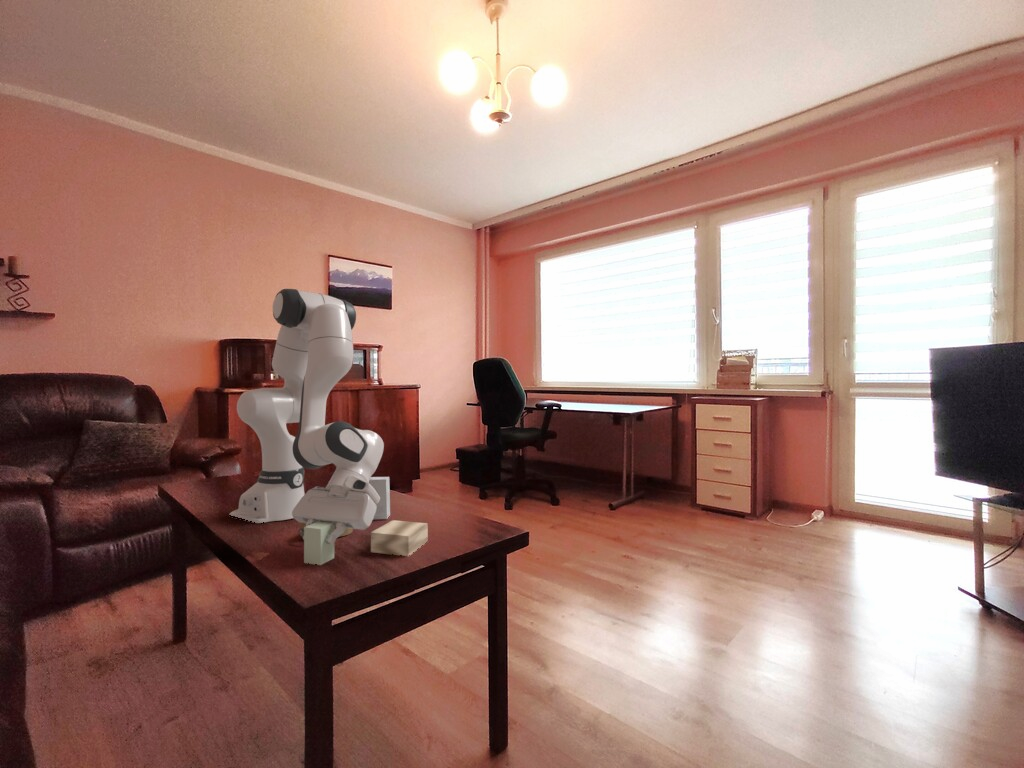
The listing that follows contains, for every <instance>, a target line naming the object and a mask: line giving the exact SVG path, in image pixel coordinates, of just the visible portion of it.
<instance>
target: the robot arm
mask: <svg viewBox="0 0 1024 768" xmlns="http://www.w3.org/2000/svg"><path fill="white" fill-rule="evenodd" d="M272 315H273V318H274V320H275V321H276V322H277V324H279V325H280V328H279V330H278V334H277V338H276V342H275V346H274V351H273V355H272V356H273V357H272V361H271V368H272V370H273V371H274V373H275V374H277V375H278V376H279V377H280V378H282V379H284V384H283V387H262V388H261V387H260V388H256V389H250V390H246V391H244V392H243V393H241V395H240V396H239V397H238V399H237V402H236V412H237V415H238V417H239V419H240V420H241V421H242V422H243V423H245V424H247V425H248V426H249V427H250V428H251V429H252V430H253V431H254V432H255V434H256V435H257V437H258V439H259V442H260V447H261V466H262V467H261V468H262V469H261V470H260V471H257V472H256V471H255V472H254V476H255V477H257V476H258V478H257V479H256V481H257V482H255V483H254V484H253V485H251V487H249V488H248V489H247V490H246V491H245V492H243V493H241V495H240V496H239V497H240V498H239V500H238V508H237V509H235V510H232V511H231V512H230V513H229V515H231V516H235V517H238V518H242V519H245V520H244V521H246V520H248V521H247V522H250V521H252V522H251V523H254V522H255V523H254V524H261V523H262V524H263V522H264V523H269V522H275V521H276V522H278V521H285V520H291V519H294V520H296V522H298V523H300V524H302V523H306V526H308V525H311V524H313V523H316V522H318V521H319V522H328V523H334V526H335V527H336V529H335V530H334V531H333V532H332V533H331V534H327V536H326V538H325V542H326V543H327V544H331V545H333V544H334V545H335V542H336V541H337V539H338V538H339V536H340V535H341V534H342V533H344V532H345V530H346V528H352V529H353V530H361V531H365V530H367V529H369V527H370V526H371V524H372V522H373V521H374V519H373V518H374V515H375V512H376V509H377V506H376V504H377V503H378V502H379V501H380V497H379V495H378V493H377V492H376V490H375V489H374V488H373V487H372V486H371V485H370V484H369V479H370V477H373V475H374V474H375V472H376V470H377V468H378V467H379V464H380V462H381V459H382V457H383V453H384V449H385V448H384V447H385V442H384V441H383V439H382V437H381V436H380V435H379V434H378V433H377V432H374V431H372V430H370V429H360V428H356V427H354V426H353V425H352V424H351V423H349V422H347V421H343V420H338V421H334V422H331V423H328V424H326V414H327V413H326V411H327V409H326V408H327V401H328V400H327V399H328V396H329V394H330V392H331V391H332V390H333V388H335V386H336V385H337V384H338V382H340V381H341V379H343V378H344V377H345V376H346V375H347V373H349V371H350V370H351V369H352V366H353V363H354V362H353V361H354V356H355V355H354V341H353V333H352V330H353V329H354V328H355V325H356V320H357V313H356V309H355V307H354V305H353V304H352V303H351V302H349V301H347V300H346V299H343V298H337V297H334V296H331V295H327V294H325V293H324V294H323V293H319V292H318V293H316V292H312V291H311V292H310V291H304V290H298V289H297V288H283V289H280V291H278V292H277V293H276V295H275V297H274V300H273V302H272ZM293 423H295V424H296V423H298V427H297V428H298V429H297V431H296V432H297V433H296V435H295V436H294V435H292V434H290V433H289V431H288V428H287V424H293ZM330 464H333V465H334V466H335V471H334V472H333V474H332V476H331V478H330V480H329V481H328V483H327V485H326V486H318V485H317V486H314V487H312V488H311V489H308V490H307V491H306V493H305V488H304V487H305V486H304V479H305V469H306V470H311V471H312V470H318V469H320V468H323V467H325V466H327V465H330ZM229 515H228V516H229ZM340 537H341V536H340ZM302 539H303V540H304V536H303V538H302Z"/></svg>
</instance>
